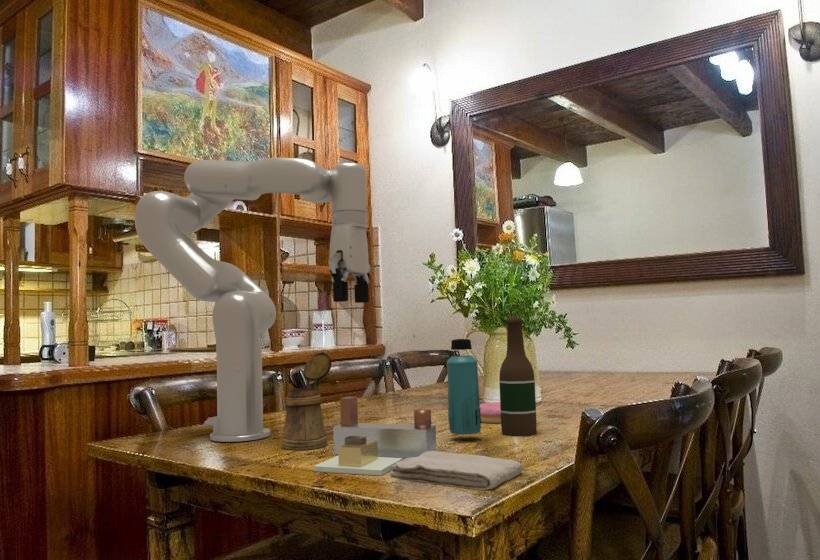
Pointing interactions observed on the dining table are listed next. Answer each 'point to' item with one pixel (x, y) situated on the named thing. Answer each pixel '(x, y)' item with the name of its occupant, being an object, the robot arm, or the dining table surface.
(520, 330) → the beer bottle
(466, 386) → the beverage bottle
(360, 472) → the mat
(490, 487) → the washcloth
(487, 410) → the doughnut
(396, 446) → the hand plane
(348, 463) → the beige block
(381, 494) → the dining table surface
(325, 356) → the wooden utensil holder
